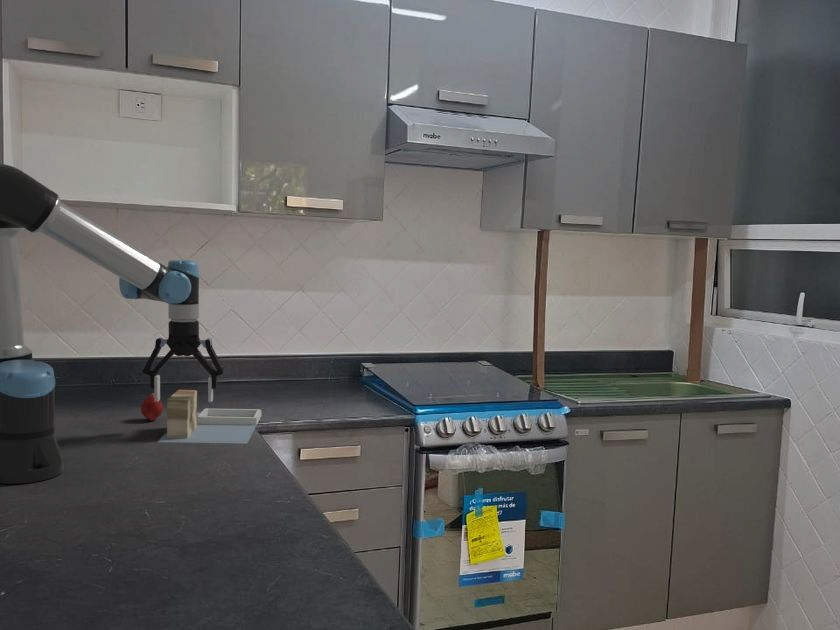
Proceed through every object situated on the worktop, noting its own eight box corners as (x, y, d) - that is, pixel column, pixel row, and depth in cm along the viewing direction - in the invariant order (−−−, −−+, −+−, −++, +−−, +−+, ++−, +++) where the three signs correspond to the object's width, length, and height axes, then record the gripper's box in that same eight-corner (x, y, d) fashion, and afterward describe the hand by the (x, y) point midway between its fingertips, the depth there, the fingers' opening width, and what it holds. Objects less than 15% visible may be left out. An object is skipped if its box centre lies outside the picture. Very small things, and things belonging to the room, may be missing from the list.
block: (187, 438, 193) (187, 398, 192) (167, 438, 192) (167, 398, 192) (196, 427, 205) (197, 389, 204) (177, 426, 204) (178, 389, 203)
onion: (136, 421, 209) (136, 393, 209) (152, 418, 214) (152, 390, 214) (151, 424, 207) (151, 396, 206) (167, 421, 212) (167, 392, 211)
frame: (256, 425, 210) (256, 418, 210) (197, 424, 208) (197, 417, 208) (261, 416, 221) (261, 409, 221) (204, 415, 219) (204, 408, 219)
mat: (247, 444, 190) (247, 443, 190) (157, 443, 188) (157, 442, 188) (262, 414, 224) (262, 413, 224) (186, 413, 222) (186, 412, 222)
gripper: (235, 319, 201) (234, 398, 203) (138, 317, 199) (138, 397, 201) (230, 322, 194) (230, 404, 196) (129, 320, 191) (130, 403, 193)
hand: (184, 401), depth 198 cm, fingers open, 13 cm apart
